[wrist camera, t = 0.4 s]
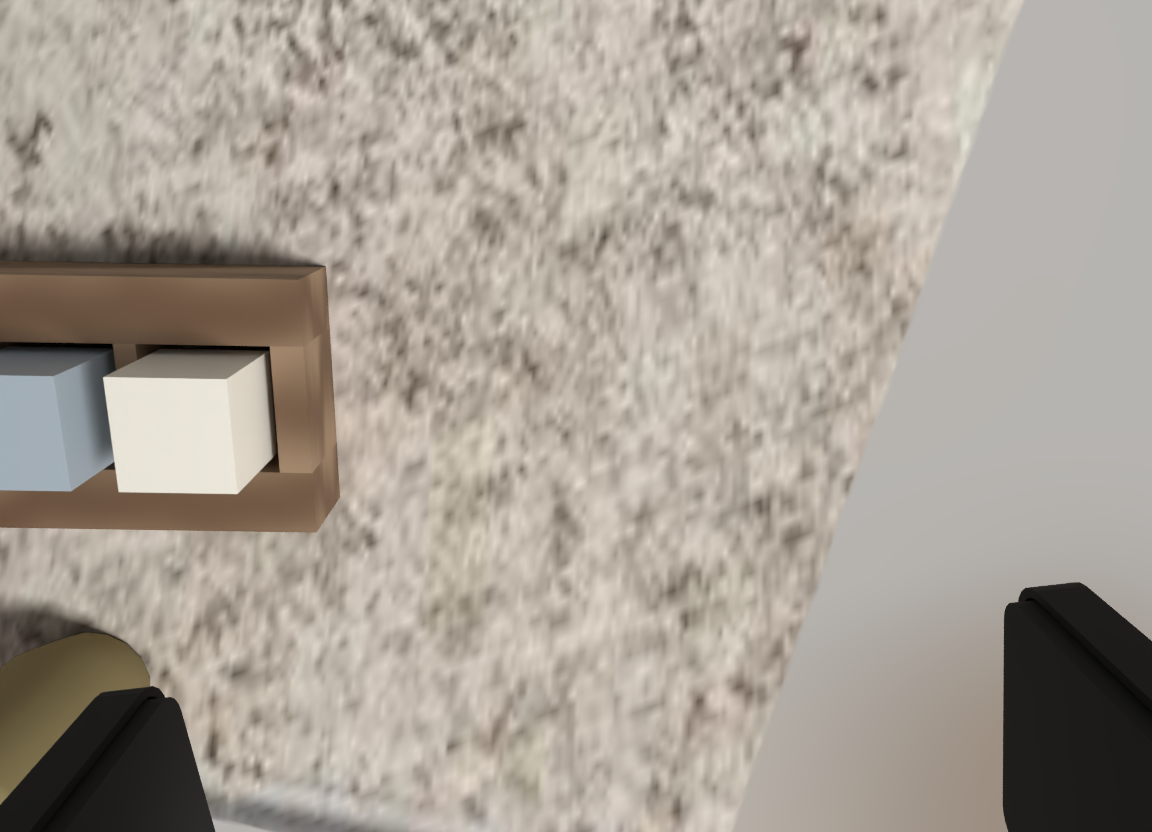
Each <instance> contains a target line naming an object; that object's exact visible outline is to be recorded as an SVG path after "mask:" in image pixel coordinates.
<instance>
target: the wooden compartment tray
mask: <svg viewBox="0 0 1152 832" xmlns="http://www.w3.org/2000/svg"><path fill="white" fill-rule="evenodd" d="M38 342H45V343H103V344H113V351H114V358H115V366H116V370H118V369H120V368H123V367H125V366H127V365H129V364H131V363H133V362H135V361H137V360H139V359H141V358H143V357H145V356H147V355H149V354H151V353H153V352H155V351H157V350H159V349H180V345H219V346H270V356H271V369H272V381H273V393H274V406H275V418H276V431H277V442H276V446H277V454H276V455H275V456H274V457H273V458H272V459H271V460H270V461H269V462H268V463H267V464H266V465H265V466H264V467H263V468H262V469H261V470H260V471H259V472H258V473H257V474H256V476H255V477H254V478H253V479H252V480H251V481H250V482H249V483H248V484H247V485H246V486H245V487H244V488H243V489H242V490H241V491H240V492H239V493H238V494H199V493H138V492H119V491H118V484H117V477H116V469H115V462H113V463H112V464H110V465H109V466H107V467H106V468H104V469H103V470H101V471H100V472H99V473H97V474H96V475H94V476H93V477H91V478H90V479H88V480H87V481H85V482H84V483H83V484H81V485H80V486H78V487H77V488H75V489H74V490H72V491H15V490H0V527H7V528H69V529H131V530H193V531H255V532H317V531H318V529H319V528H320V526H321V525H322V523H323V522H324V520H325V519H326V517H327V516H328V514H329V513H330V511H331V510H332V508H333V507H334V505H335V504H336V502H337V501H338V499H339V498H340V491H339V475H338V459H337V442H336V426H335V409H334V393H333V377H332V360H331V344H330V327H329V311H328V295H327V278H326V267H323V266H267V265H211V264H154V263H98V262H42V261H0V349H2V348H5V347H8V346H19V347H39V343H38Z"/></svg>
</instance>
